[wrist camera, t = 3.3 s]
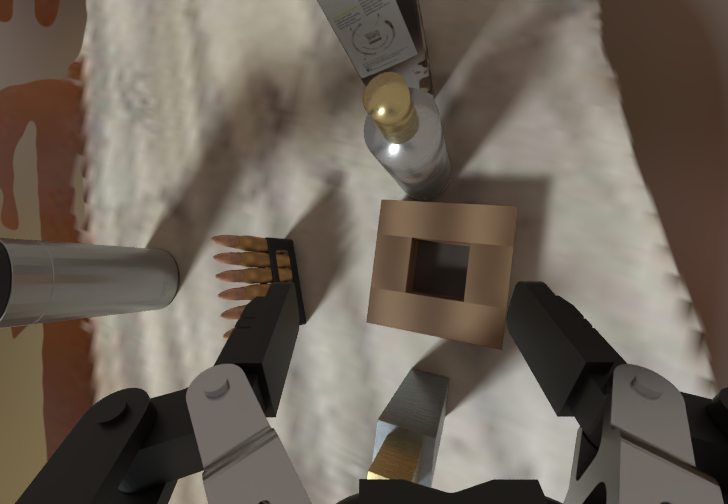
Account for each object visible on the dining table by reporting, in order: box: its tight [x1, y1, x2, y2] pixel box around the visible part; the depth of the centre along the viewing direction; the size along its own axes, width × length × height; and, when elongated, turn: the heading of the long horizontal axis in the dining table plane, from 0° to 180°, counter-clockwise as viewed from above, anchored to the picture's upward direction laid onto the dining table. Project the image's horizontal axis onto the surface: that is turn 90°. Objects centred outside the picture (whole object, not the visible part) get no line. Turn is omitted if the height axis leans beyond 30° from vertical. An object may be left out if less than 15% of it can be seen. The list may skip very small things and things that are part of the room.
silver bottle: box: [363, 72, 452, 200], centre depth 26 cm, size 6×6×16 cm
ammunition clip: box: [211, 235, 306, 339], centre depth 32 cm, size 11×2×12 cm, turn 11°
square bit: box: [367, 369, 450, 488], centre depth 24 cm, size 4×4×16 cm
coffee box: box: [317, 0, 434, 99], centre depth 27 cm, size 9×6×16 cm
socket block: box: [367, 200, 518, 350], centre depth 29 cm, size 12×12×5 cm
